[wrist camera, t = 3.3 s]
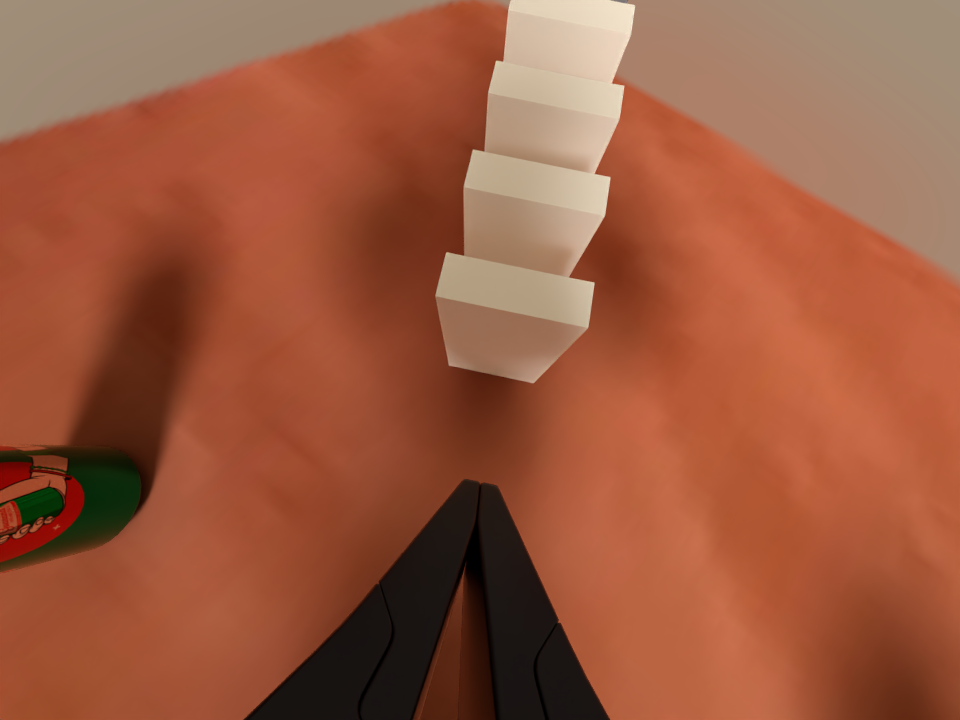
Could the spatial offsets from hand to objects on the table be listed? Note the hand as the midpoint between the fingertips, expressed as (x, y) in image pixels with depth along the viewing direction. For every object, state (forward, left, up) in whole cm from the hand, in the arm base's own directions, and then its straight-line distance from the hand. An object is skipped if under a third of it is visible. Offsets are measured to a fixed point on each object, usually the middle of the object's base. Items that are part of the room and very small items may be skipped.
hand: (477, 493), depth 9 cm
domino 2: (+9, -6, -12) cm, 16 cm away
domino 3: (+12, -8, -12) cm, 19 cm away
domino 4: (+16, -10, -12) cm, 22 cm away
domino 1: (+5, -3, -12) cm, 13 cm away
